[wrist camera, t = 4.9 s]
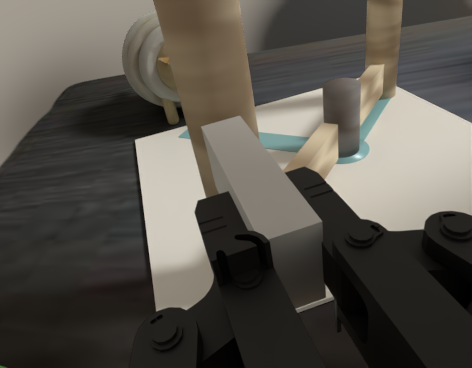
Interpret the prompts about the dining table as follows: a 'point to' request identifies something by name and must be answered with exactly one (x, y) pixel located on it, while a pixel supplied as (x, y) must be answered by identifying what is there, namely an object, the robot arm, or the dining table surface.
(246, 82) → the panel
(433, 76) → the dining table surface
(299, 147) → the card
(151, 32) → the toy sheep
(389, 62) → the wooden post with ball
